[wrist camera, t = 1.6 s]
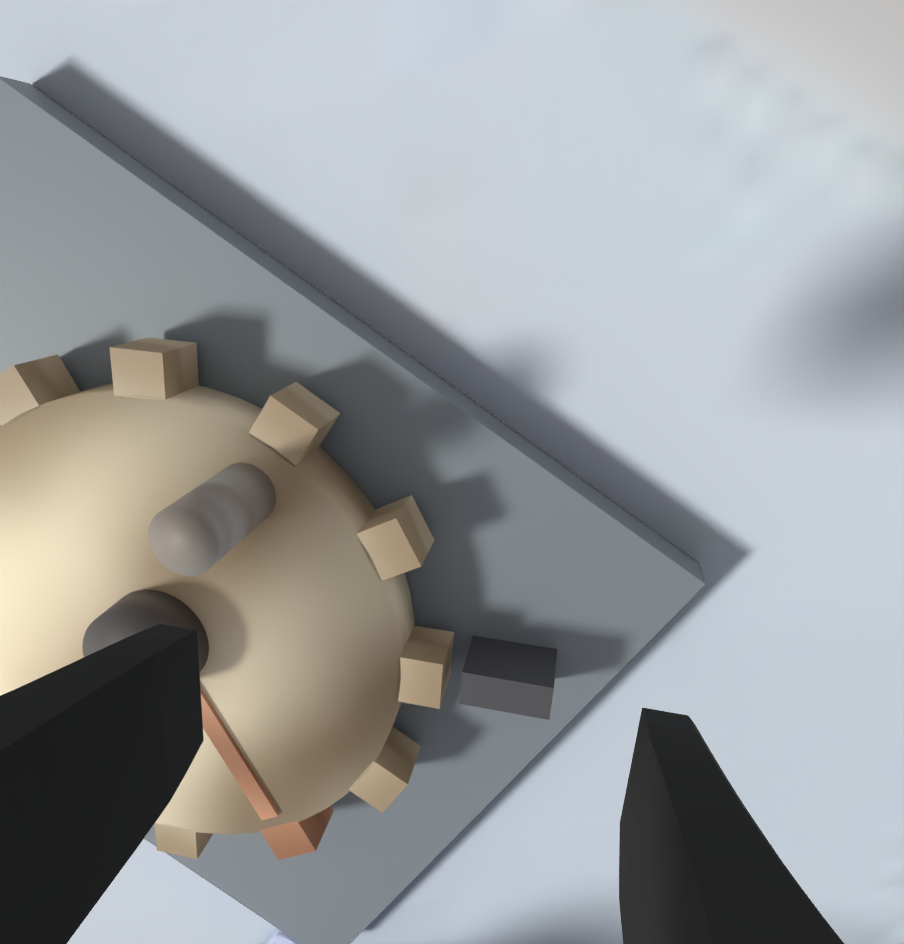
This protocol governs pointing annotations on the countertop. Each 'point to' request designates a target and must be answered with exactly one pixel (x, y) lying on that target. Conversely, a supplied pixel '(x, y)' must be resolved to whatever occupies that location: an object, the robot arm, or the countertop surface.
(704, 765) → the robot arm
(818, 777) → the countertop surface
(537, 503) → the base board
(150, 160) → the countertop surface
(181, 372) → the sprocket
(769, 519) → the countertop surface
